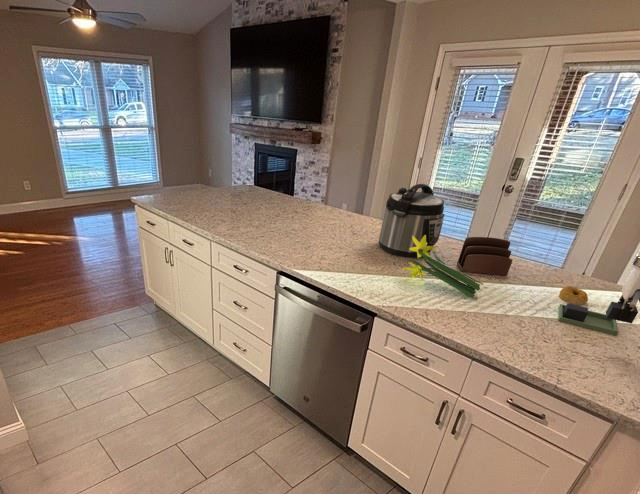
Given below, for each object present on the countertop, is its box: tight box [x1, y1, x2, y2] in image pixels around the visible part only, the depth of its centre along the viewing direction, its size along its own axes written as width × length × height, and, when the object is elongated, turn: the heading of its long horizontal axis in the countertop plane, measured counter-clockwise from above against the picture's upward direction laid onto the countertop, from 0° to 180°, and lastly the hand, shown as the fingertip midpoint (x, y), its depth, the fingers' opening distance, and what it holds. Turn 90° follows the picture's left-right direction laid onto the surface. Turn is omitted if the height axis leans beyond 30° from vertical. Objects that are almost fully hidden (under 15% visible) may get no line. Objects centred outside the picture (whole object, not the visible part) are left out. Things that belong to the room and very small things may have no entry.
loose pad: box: [605, 301, 639, 324], centre depth 133 cm, size 6×5×4 cm
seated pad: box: [563, 302, 589, 322], centre depth 153 cm, size 6×5×4 cm
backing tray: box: [557, 303, 619, 337], centre depth 152 cm, size 18×14×2 cm
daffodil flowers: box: [402, 235, 484, 299], centre depth 172 cm, size 17×15×35 cm
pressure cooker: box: [378, 183, 445, 258], centre depth 203 cm, size 30×28×32 cm
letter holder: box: [456, 236, 514, 276], centre depth 189 cm, size 10×20×14 cm, turn 80°
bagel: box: [558, 285, 589, 306], centre depth 167 cm, size 10×11×5 cm
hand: (619, 316), depth 134 cm, fingers closed on loose pad, 5 cm apart
